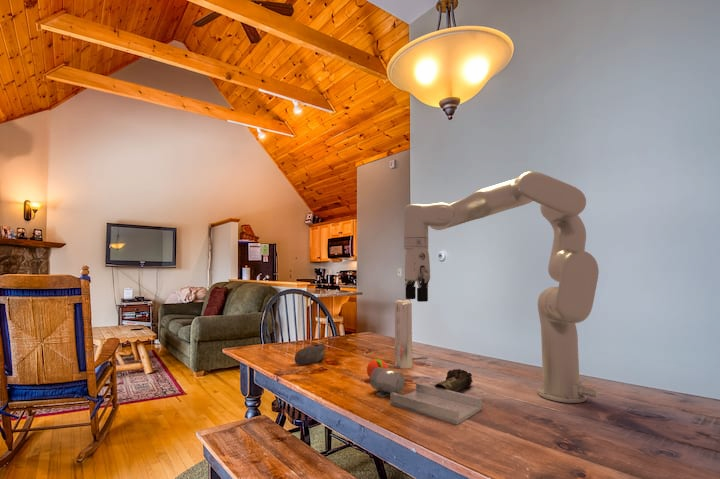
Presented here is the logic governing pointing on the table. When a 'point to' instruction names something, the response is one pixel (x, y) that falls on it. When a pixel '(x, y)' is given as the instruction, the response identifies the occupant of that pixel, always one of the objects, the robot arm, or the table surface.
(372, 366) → the clementine
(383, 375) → the duct stub
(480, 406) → the cradle
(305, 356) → the perforated stone tool
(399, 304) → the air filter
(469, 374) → the brown knobbed club
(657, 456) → the table surface
